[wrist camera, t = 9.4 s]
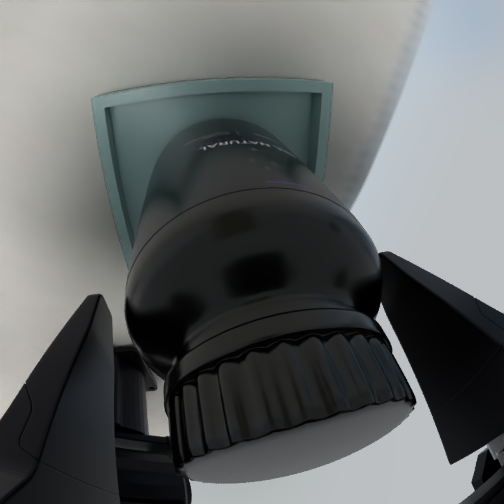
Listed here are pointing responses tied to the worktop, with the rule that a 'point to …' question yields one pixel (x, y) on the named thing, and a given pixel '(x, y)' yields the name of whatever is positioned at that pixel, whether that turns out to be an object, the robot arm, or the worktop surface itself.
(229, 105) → the tray
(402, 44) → the worktop surface
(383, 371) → the supplement bottle
